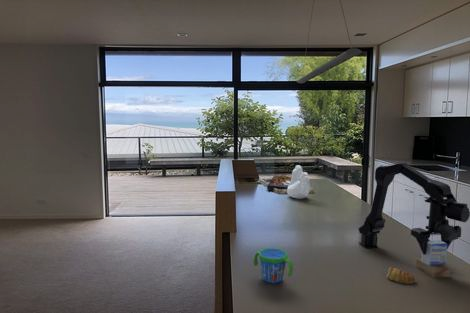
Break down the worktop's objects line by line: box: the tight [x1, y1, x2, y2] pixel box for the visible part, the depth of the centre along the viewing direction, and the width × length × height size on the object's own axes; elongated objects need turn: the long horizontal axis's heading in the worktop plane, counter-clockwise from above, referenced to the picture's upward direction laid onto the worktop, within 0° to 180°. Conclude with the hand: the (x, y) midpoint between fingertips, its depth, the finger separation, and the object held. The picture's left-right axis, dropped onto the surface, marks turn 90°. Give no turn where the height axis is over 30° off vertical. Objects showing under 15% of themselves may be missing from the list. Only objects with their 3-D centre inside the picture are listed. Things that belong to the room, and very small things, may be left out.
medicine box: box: [420, 239, 448, 266], centre depth 137 cm, size 8×4×9 cm, turn 103°
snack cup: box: [253, 247, 294, 284], centre depth 127 cm, size 16×10×10 cm
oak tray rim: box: [258, 178, 315, 195], centre depth 305 cm, size 32×52×3 cm, turn 12°
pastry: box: [386, 266, 416, 284], centre depth 130 cm, size 9×7×4 cm
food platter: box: [266, 174, 292, 192], centre depth 305 cm, size 45×25×10 cm, turn 167°
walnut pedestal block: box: [415, 257, 452, 279], centre depth 138 cm, size 7×10×4 cm
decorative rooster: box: [287, 164, 311, 200], centre depth 260 cm, size 25×16×25 cm, turn 2°
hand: (434, 253), depth 137 cm, fingers open, 9 cm apart
